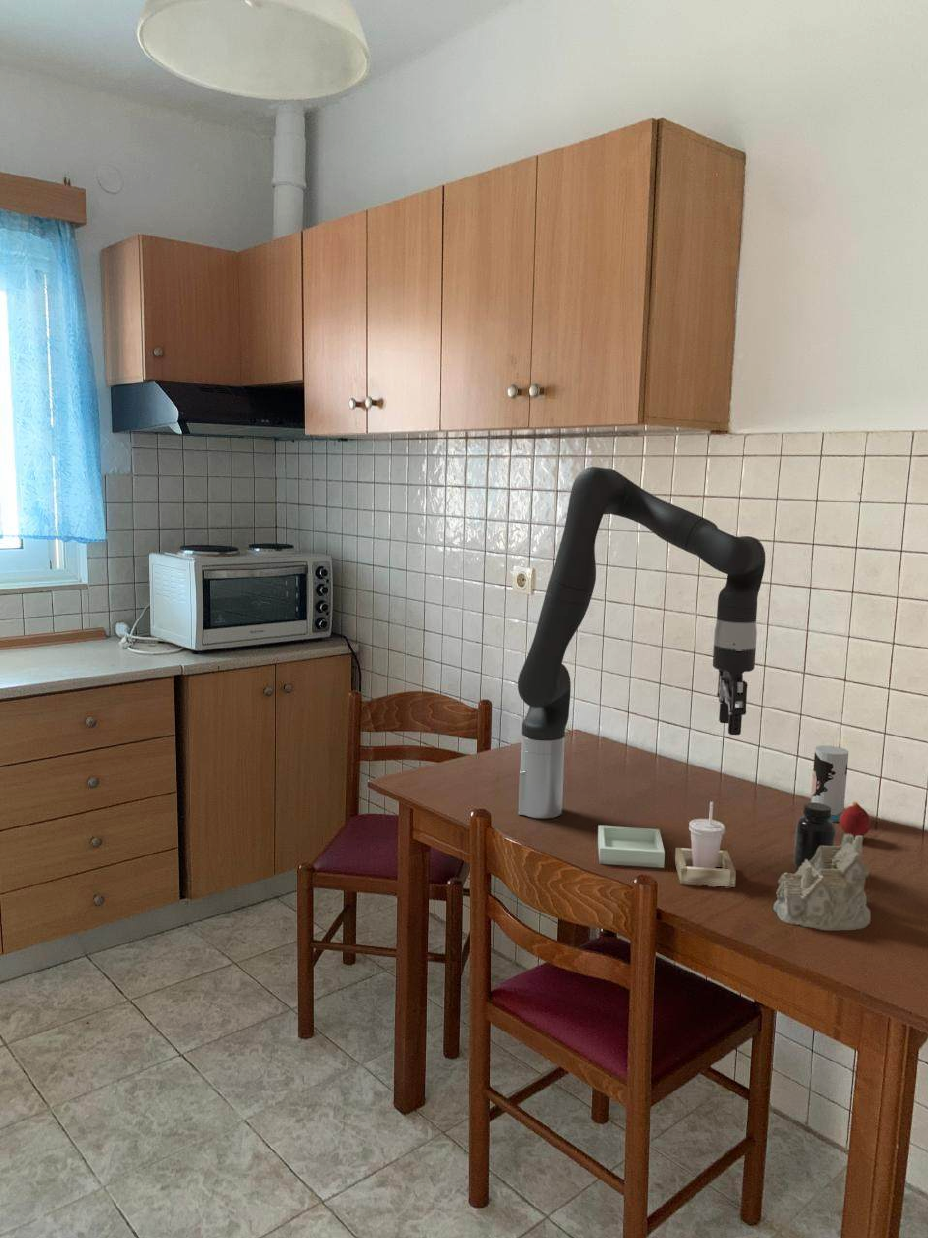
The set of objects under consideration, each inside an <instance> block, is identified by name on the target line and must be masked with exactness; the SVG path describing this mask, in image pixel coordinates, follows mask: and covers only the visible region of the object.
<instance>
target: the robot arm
mask: <svg viewBox="0 0 928 1238" xmlns="http://www.w3.org/2000/svg"><path fill="white" fill-rule="evenodd" d="M568 499H569V501H568V506H567V512H566V518H565V523H564V528H563V532H562V536H561V538H560V544H559V546H558V549H557V554H556V558H555V560H554V561H555V562H554V565H553V568H552V571H551V574H550V577H549V581H548V584H547V587H546V590H545V595H544V600H543V604H542V607H541V611H540V614H539V616H538V621H537V626H536V630H535V633H534V637H533V640H532V642H531V645H530V649H529V650H528V653H527V656H526V659H525V660H524V663H523V665H522V668H521V671H520V673H519V676H518V681H517V690H518V693H519V696H520V699H521V701H523V703H524V704H525V705H527V706H529V707H528V710H527V712H526V715H525V717H524V718H523V721H522V723H521V743H520V744H521V745H520V746H521V747H520V750H521V751H520V770H519V789H518V790H519V791H518V815H521V816H526V817H529V818H533V819H553V818H556V817H558V816H560V815H562V813H563V794H564V793H563V792H564V791H563V788H564V785H563V784H564V764H565V763H564V762H565V760H564V759H565V758H564V757H565V736H566V733H565V732H566V727H567V724H568V722H569V718H570V717H569V716H570V715H569V714H570V704H571V703H570V702H571V692H572V691H571V687H572V686H571V683H572V682H571V677H570V672H569V671H568V670H569V669H567V667H566V666H565V665H564V664H563V660H564V658H565V654H566V652H567V651H566V650H567V648H568V646H569V644H570V642H571V640H572V639H573V637H574V636H575V634H576V632H577V630H578V628H580V625H581V623H582V622H583V620H584V618H585V615H586V613H587V611H588V608H589V605H590V603H591V600H592V596H593V592H594V588H595V585H596V579H597V563H596V553H595V551H596V548H595V547H596V539H597V535H598V533H599V529H600V525H601V523H602V520H603V517H604V515H613V516H618V517H621V518H624V519H628V520H631V521H633V522H635V523H637V524H639V525H641V526H643V527H645V528H646V529H649V531H651V532H652V534H654V535H656V536H657V537H659V538H660V539H662V540H663V541H665V542H667V543H669V544H670V545H673V546H675V547H676V548H679V549H680V550H683V551H685V552H687V553H689V554H691V555H694V556H696V557H698V558H699V559H700V560H701V561H703V562H704V563H706V564H707V565H708V566H710V567H711V568H714V569H715V570H717V571H718V572H721V573H723V574H725V575H726V582H725V585H724V587H723V588H722V589H721V590H720V592H719V593H718V598H717V611H716V623H715V629H714V636H713V637H714V639H713V654H712V655H713V656H712V657H713V658H712V667H713V668H714V669H716V670H718V683H717V685H718V686H717V694H716V695H717V698H718V703H719V714H718V715H719V716H718V717H719V718H718V721H719V722H720V724H727V733H728V734H729V736H740V735H741V734H742V733H741V732H742V719H743V718H742V716H744V715H746V713H747V696H748V686H749V685H748V682H747V681H745V680H744V679H743V678H744V677H743V676H744V675H743V674H744V673H750V672H753V671H754V669H755V665H756V664H755V663H756V651H757V635H758V633H757V614H758V613H757V610H758V596H759V592H760V589H761V585H762V581H763V577H764V572H765V568H766V552H765V547H764V545H763V543H762V542H761V541H760V540H759V539H758V538H756V537H753V536H749V535H748V536H747V535H745V536H744V535H743V536H742V535H741V536H736V535H732V534H730V533H728V532H725V531H724V530H722V529H720V528H719V527H718V525H717V524H715V523H714V522H713V521H711V520H709V519H707V518H705V517H703V516H701V515H699V514H697V513H694V512H691V511H690V510H687V509H684V508H682V507H681V506H678V505H675V504H673V503H671V502H668V501H665V500H664V499H661V498H659V497H657V496H655V495H653V494H652V493H650V492H648V491H647V490H645V489H644V488H642V487H640V486H639V485H637V484H636V483H634V481H631V480H630V479H629V478H627V477H626V476H624V475H623V474H621V473H620V472H619V471H617V470H615V469H612V468H606V467H600V466H599V467H596V466H591V467H586V468H585V469H583V470H581V471H580V472H579V473H578V475H577V476H576V478H575V479H574V481H573V484H572V486H571V490H570V495H569V498H568ZM736 705H737V706H738V707H736Z"/></svg>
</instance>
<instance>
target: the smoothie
mask: <svg viewBox="0 0 928 1238" xmlns="http://www.w3.org/2000/svg"><path fill="white" fill-rule="evenodd" d="M713 813H714V801H710V802H709V815H708V816H709V817H708V818H696V819H693V820H691V821H689V822H688V823H689V824H688V825H689V826H688V829H689V831H690V840H691V849H692V857H693V866H692V867H704V868H716V866H717V861H718V855H719V851H721V844H722V839H723V835H724V834H725V833H726V827H725V825H724V824H723V823H722V822H721V821H718V820H715V819H713Z"/></svg>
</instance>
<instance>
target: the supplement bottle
mask: <svg viewBox="0 0 928 1238" xmlns="http://www.w3.org/2000/svg"><path fill="white" fill-rule="evenodd" d="M802 815H803V816H801V817H799V819H798V820H797V822H796V827H795V828H796V829H795V841H794V851H793V852H794V853H793V864H794V866H795V867H796V868H797V869H799V867H800V866H801V865H802V863H804V862H805V859H807V860H808V861H810V860H811V859H812V858H813V857H814V855H815V854H816V851H817V849H818V848H819V846H835V836H836V826H835V823H834V822H831V821H830V820H829V819H831V807H829V806H827V805H825V804H821V803H813V802H812V803H811V802H806V803H804V805H803V811H802Z"/></svg>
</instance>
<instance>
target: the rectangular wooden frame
mask: <svg viewBox="0 0 928 1238" xmlns="http://www.w3.org/2000/svg"><path fill="white" fill-rule="evenodd" d="M674 852H675V853H674V855H675V856H674V865H675V867H676V872H677V877H678V879H679V883H680V885H686V886H687V885H689V886H701V885H708V886H707V887H716V886H726V887H725V888H728V887H727V886H730V887H735V888H736V875H737V870H736V869H735V866H734V864H733V861H732V860H731V857H730V854H729V852H728V850H719V855H718V861H717V866H716V867H722V868H704V867H693V857H692V848H686V847H685V848H684V847H675V851H674ZM686 865H687V866H686ZM730 887H729V888H730Z"/></svg>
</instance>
